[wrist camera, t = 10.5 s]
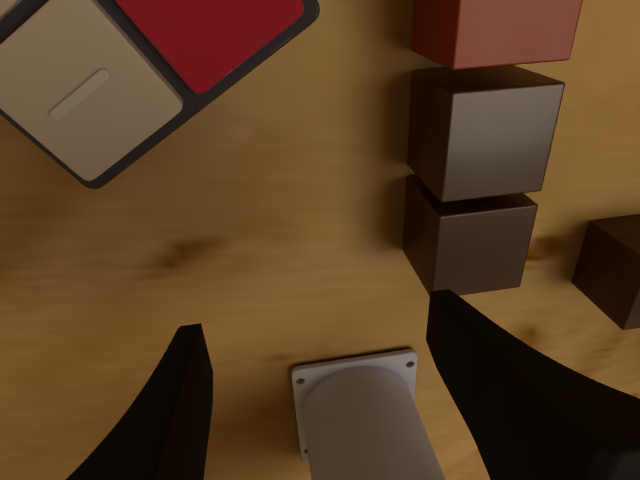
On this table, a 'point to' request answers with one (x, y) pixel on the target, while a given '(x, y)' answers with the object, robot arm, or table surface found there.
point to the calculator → (128, 70)
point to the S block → (494, 31)
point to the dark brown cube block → (466, 239)
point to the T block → (481, 130)
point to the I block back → (612, 269)
